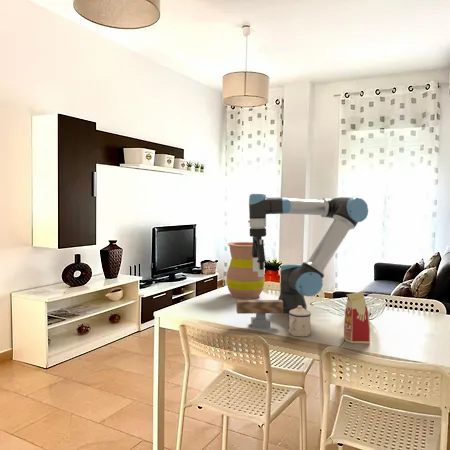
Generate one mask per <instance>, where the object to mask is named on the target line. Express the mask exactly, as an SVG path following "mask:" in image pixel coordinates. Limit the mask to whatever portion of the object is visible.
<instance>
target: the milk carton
mask: <svg viewBox="0 0 450 450" xmlns="http://www.w3.org/2000/svg"><path fill="white" fill-rule="evenodd" d="M346 296H347V300H346V306H345V312H344V313H345V314H344V324H343V337H344V340H345V341H346V342H349V343H350V344H371V325H370V316H369V311H368V306H367V302H366V299H365V291H364V290H363V289H362V290H361V291H357V292H354V293H348V294H346Z"/></svg>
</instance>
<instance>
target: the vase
mask: <svg viewBox="0 0 450 450" xmlns="http://www.w3.org/2000/svg"><path fill="white" fill-rule="evenodd" d="M227 245H228V246H229V252H230V257H231V260H230V264H229V266H228V269H227V272H226V286H227V289H228V292H229V293H230V296H231V297H232V298H235V299H238V300H255V299H257V298H259V297H260V295H261V294H262V293H263V292H262V291H263V290H264V287H265V282H266V278H265V277H266V276H265V274H264V277H258V271H254V272H253V258H254V257H252V246H253V241H233V242H228V243H227ZM264 246H265V243H264Z"/></svg>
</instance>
